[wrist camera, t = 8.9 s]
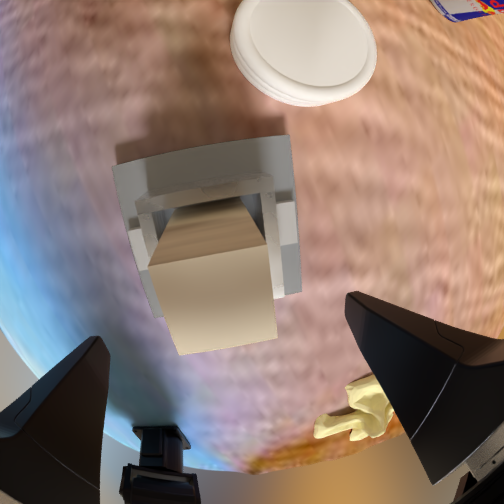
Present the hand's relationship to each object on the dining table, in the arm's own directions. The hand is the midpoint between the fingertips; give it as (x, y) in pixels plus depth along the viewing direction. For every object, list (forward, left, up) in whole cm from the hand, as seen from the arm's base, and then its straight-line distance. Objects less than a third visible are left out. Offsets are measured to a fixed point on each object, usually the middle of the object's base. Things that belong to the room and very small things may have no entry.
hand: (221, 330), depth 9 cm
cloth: (-30, -18, -13) cm, 37 cm away
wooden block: (0, 0, -11) cm, 11 cm away
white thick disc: (+13, -8, -12) cm, 19 cm away
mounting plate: (0, 0, -12) cm, 12 cm away
